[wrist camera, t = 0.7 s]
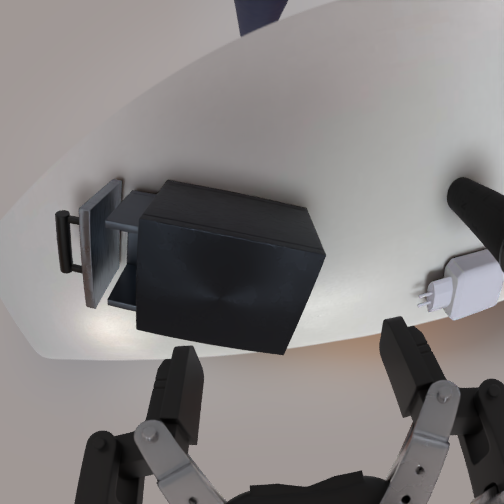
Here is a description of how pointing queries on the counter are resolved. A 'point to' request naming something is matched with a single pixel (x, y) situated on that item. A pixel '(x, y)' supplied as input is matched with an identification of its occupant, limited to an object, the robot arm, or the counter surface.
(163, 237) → the cabinet
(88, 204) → the drawer
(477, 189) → the drinking cup
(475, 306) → the charger
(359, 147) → the counter surface
